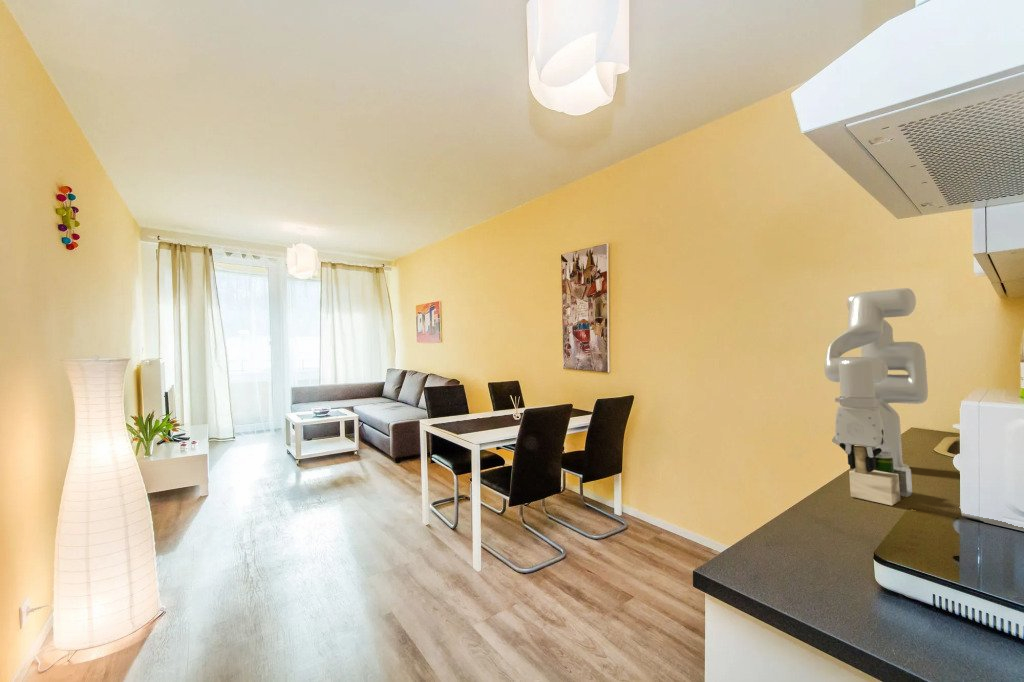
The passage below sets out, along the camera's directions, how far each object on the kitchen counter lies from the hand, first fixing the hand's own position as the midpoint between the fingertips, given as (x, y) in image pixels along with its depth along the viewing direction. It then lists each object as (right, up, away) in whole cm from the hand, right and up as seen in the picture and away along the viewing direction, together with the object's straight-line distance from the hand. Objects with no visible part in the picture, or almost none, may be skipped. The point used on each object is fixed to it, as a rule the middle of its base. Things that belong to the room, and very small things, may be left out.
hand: (862, 468), depth 118 cm
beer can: (+7, -8, +2) cm, 11 cm away
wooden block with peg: (+3, -8, -1) cm, 9 cm away
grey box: (+12, -8, +5) cm, 15 cm away
